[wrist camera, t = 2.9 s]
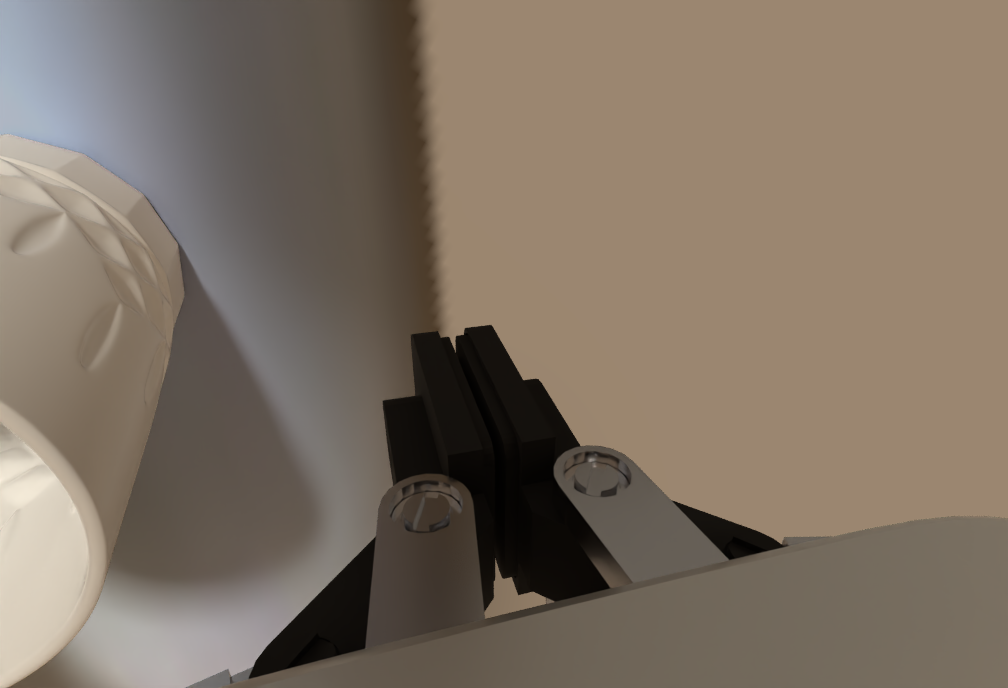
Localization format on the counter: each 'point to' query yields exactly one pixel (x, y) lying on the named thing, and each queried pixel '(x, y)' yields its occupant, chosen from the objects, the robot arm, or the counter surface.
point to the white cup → (72, 383)
